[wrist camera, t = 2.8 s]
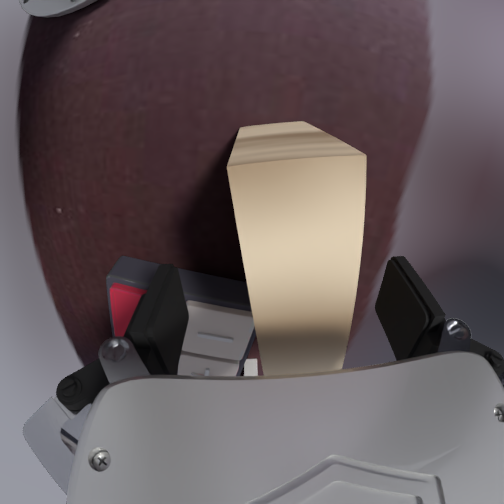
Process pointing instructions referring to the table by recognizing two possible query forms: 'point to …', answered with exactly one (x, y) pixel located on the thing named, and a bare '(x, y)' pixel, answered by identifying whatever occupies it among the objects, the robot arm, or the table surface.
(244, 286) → the calculator
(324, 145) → the block
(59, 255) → the table surface
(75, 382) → the robot arm
